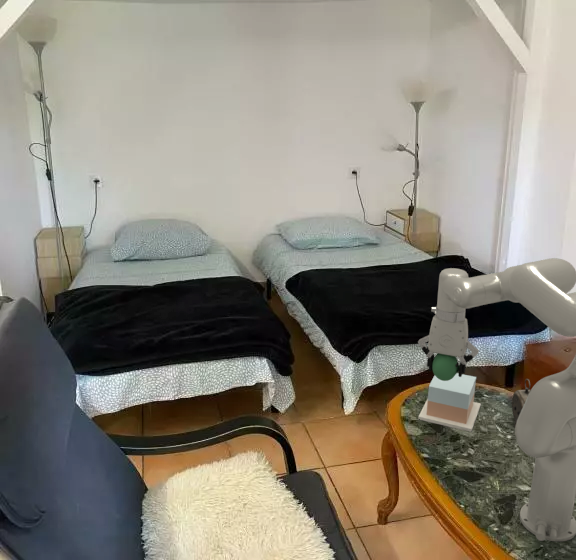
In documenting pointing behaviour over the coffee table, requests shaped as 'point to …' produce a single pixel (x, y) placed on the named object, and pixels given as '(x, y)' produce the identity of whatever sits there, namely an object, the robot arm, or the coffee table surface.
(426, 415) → the brick tower
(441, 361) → the alien toy
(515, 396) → the alarm clock
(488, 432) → the coffee table surface
